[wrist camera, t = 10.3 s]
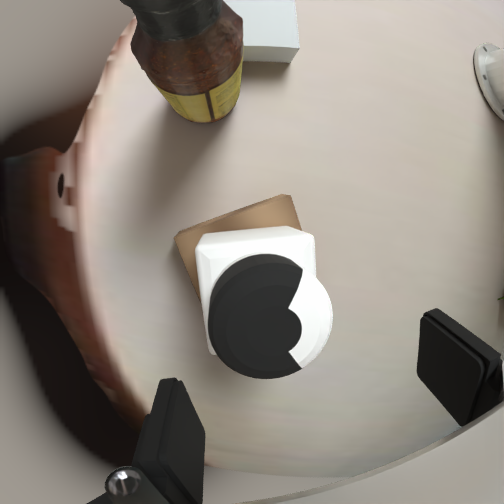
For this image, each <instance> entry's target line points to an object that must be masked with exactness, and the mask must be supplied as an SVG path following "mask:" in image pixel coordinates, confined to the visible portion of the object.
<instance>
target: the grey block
mask: <svg viewBox="0 0 504 504" xmlns="http://www.w3.org/2000/svg"><path fill="white" fill-rule="evenodd" d="M223 1H224V2H225V3H226V4H227V5H228V6H229V7H230V8H231V9H232V10H233V11H234V12H235V13H236V14H238V15H239V16H240V17H242V18H243V43H244V53H243V61H261V62H285V63H291V61H292V60H293V58H294V56H295V55H296V53H297V52H298V50H299V48H300V47H299V36H298V26H297V16H296V7H295V0H223Z"/></svg>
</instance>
